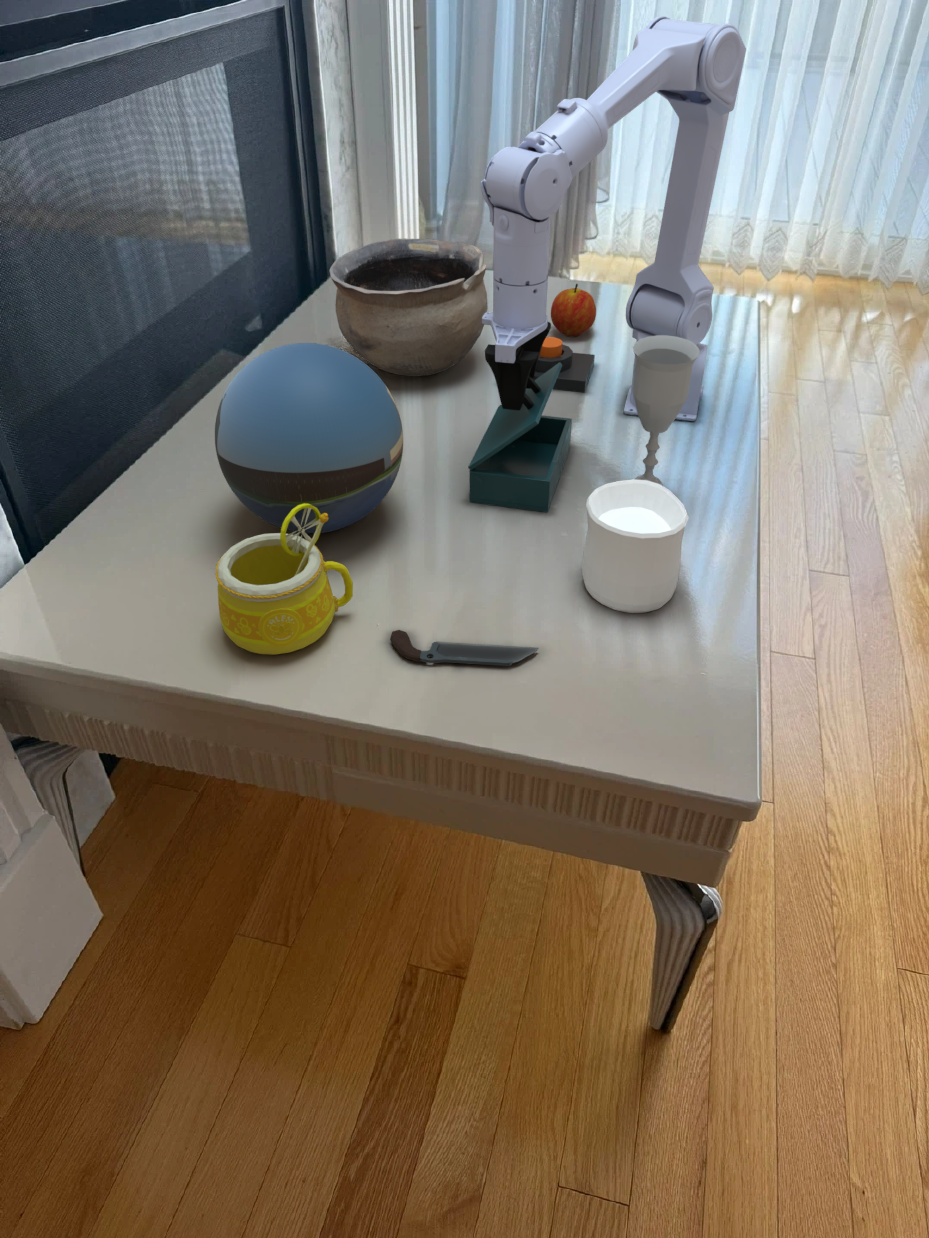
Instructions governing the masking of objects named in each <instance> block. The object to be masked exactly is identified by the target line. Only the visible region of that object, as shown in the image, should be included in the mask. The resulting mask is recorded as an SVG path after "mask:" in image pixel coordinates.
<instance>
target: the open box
mask: <svg viewBox="0 0 929 1238" xmlns="http://www.w3.org/2000/svg"><path fill="white" fill-rule="evenodd" d="M572 424H573V418H570V417H569V418H568V417H561V416H552V415H543V414H542V416H541V418H540V421H539V423H538V425H536V426H535V427H533V428H532V429H530V430H529V431H528V432H526V433H525V434H523V435H522V436H520V437H519V438H517V439H516V440H514V441H513V442H512V443H510V444H509V445H507V446H506V447H504V448H503V449H501V450H500V451H498V452H497V453H495V454H494V455H493V456H491V457H490V458H488V459H487V460H485V461H484V462H482V463H481V464H479V465H478V466H477V467H475V468H474V469H472V470H470V469H469V471H468V472H469V473H468V474H469V475H468V477H469V503H472V504H473V503H474V504H481V505H489V506H497V507H505V508H512V509H520V510H528V511H533V512H534V511H535V512H542V513H543V512H544V513H549V511H550V507H551V505H552V501H553V499H554V496H555V493H556V490H557V487H558V485H559V481H560V478H561V476H562V472H563V470H564V466H565V464H566V461H567V459H568V456H569V452H570V449H571V441H572V440H571V438H572V437H571V436H572V426H573V425H572Z"/></svg>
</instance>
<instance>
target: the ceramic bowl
mask: <svg viewBox="0 0 929 1238" xmlns="http://www.w3.org/2000/svg"><path fill="white" fill-rule="evenodd" d="M486 270H487V264H485V253H484V252H483V251H482V250H481V249H480V248H479V247H477V246H475V245H473V244H468V243H465V242H461V241H455V242H453V241H449V240H438V239H432V238H403V237H402V238H391V239H387V240H381V241H376V242H375V241H374V242H372V243H367V244H365V245H363V246H360V247H357V248H354V249H352V250H350V251H348V252H346V253H344V254H342V255H341V256H339V257H338V258H337V259H336V260H334V261H333V263H332V265H331V266H330V268H329V274H330V279H331V281H332V282H333V284H334V285H335V287H336V292H335V315H336V320H337V323H338V324H337V325H338V328H339V331H340V333H341V336H343V338H344V339H345V340H346V342H347V343H348V344H349V346H350V347H351V348H352V349H353V350H354V351H355V353H357V354H358V355H359V356H360V358H362V359H364V360H365V361H367V362H369V364H371V365H373V366H374V367H376V368H378V369H379V370H382V371H384V372H386V373H390V374H394V375H399V376H406V377H411V376H412V377H421V376H431V375H435V374H439V373H441V372H444V371H447V370H448V369H450V368H452V367H453V366H455V365H456V364H457V363H460V361H462V360H463V359H464V358H465V357H466V356H467V355H468V353H469V352H470V350H471V349H472V348H473V347H474V345H475V344H476V342H477V341H478V339H479V338H480V337H481V335H482V332H483V330H484V327H485V324H482V317H483V315H484V313H486V312H488V293H487V288H486V283H485V280H484V279H485V278H484V277H485V274H486Z"/></svg>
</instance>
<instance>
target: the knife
mask: <svg viewBox="0 0 929 1238" xmlns="http://www.w3.org/2000/svg"><path fill="white" fill-rule="evenodd" d="M389 639H390V642H391V644H392V646H393V647H394V648H395V650H396V651H397V652H398V653H399V655H401V657H404V658H405V659H407V660H410V661H412V662H418V663H421V662H422V663H428V664H438V663H440V664H441V663H455V664H470V665H471V664H472V665H484V666H485V665H488V666H503V667H506V666H507V667H508V666H509V667H510V666H513V665H512V664H516V663H519V662H521V661H523V660H524V659H526V658H528V657H530V656H532V655H533V654H535V653H536V652H537V651H538V650H539V649H540V648H539V647H538V646H537V647H536V646H518V645H504V644H503V645H502V644H500V645H499V644H486V643H485V644H484V643H483V644H482V643H468V642H467V643H466V642H449V641H434V642H432V643H431V646H430V648H429V650H421V649H418V648H416V647H414V646H413V644H412V641H411V639H410V636H409V634H408V633H407V631H404V630H400V629H397V630H396V629H395V630H392V631H391V635H390V638H389ZM430 657H431V658H430Z"/></svg>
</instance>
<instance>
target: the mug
mask: <svg viewBox="0 0 929 1238" xmlns="http://www.w3.org/2000/svg"><path fill="white" fill-rule="evenodd" d="M303 508H304V513H303V517H302V522H303V519H304V516H305V514H306V511H307V508H308V511H307V516H306V520H305V524H306V522H307V519H308V516H309V513H310V511H311V509H313V511H314V512H315V514H316V518H315V519H314V520H312V521H311V522H310V523H308V524H307V525H304V527H306V526H308V525H311V524H312V525H311V526H309V527H308V528H311V527H313V526H315V525H317V526H316V531H315V533H313V536H312V537H310V536H309V535H308V533H305V530H306V529H308V528H306V529H302V528H304V527H302V528H301V526H300V525H299V523H298V521H297V520H296V518H295V514H296V513H297V512H298V511H300V510H301V509H303ZM328 519H329V518H328V514H327V513H323V514H320V512H319V510H318V509H317V508H316V507H314V506H312V505H310V504H306V503H304V504H300V505H298V506H296V507H295V508H293V509H292V510H291V512H290V513H289V514H288V515H287V517H286V518H285V520H284V522H283V524H282V528H280V532H276V533H275V532H274V533H262V534H258V535H254V536H251V537H247V538H244V539H243V540H241V541H239V542H237V543H235V544H234V545H231V546H230V547H229V548H228V550H227V551H226V552H224V554H222V556H220V558H219V559H218V561H217V563H216V565H215V571H214V572H215V579H216V582H217V601H218V602H217V603H218V612H219V614H218V615H219V619H220V623H221V627H222V629H223V632H224V633H225V634H226V635H227V637H228V638H229V639H230V640H231V641H232V642H233V643H234V644H235V645H236V646H237V647H239V648H241V649H244V650H246V651H248V652H250V653H254V654H258V655H281V654H288V653H289V654H290V653H292V652H296V651H298V650H302V649H304V648H305V647H308V646H309V645H311V644H313V643H315V642H317V641H318V640H319V639H320V638H321V637H322V636H324V634H325V633H326V632H327V630H328V629H329V627H330V625H331V624H332V622H333V619H334V616H335V613H336V612H338V611H339V608H341V607H344V606H345V605H346V604H348V603H349V602H350V601H351V600H352V598H353V596H354V582H353V579H352V577H351V575H350V572H349V570H348V568H347V567H346V566H345V565H344V564H343V563H340V562H337V561H333V560H328V561H327V560H326V561H325V560H324V557H323V554H322V552H321V551H320V549H319V548H318V546H317V545H315V544H316V543H317V541H318V540H319V538H320V535H321V533H320V532H321V528H322V526H323V524H324V523H325V522H326V521H328ZM290 521H292V522H293V523H294V524H295V525H296V526H297V527H298V526H299V527H298V530H297V531H301V529H302V531H301V532H302V533H301V532H297V531H295V532H294V531H291V533H287V531H288V530H287V527H288V524H289V522H290ZM302 522H301V525H302ZM313 523H314V524H313ZM300 534H301V536H300ZM303 537H304V538H303ZM330 570H333V571H336V572H338V573H340V575H341V577H342V579H343V585H344V594H343V595H342V596H341V597H339V598H338V597H337V596H335V595H334V594H333V590H332V586H331V583H330V581H329V577H328V572H329V571H330Z"/></svg>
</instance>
